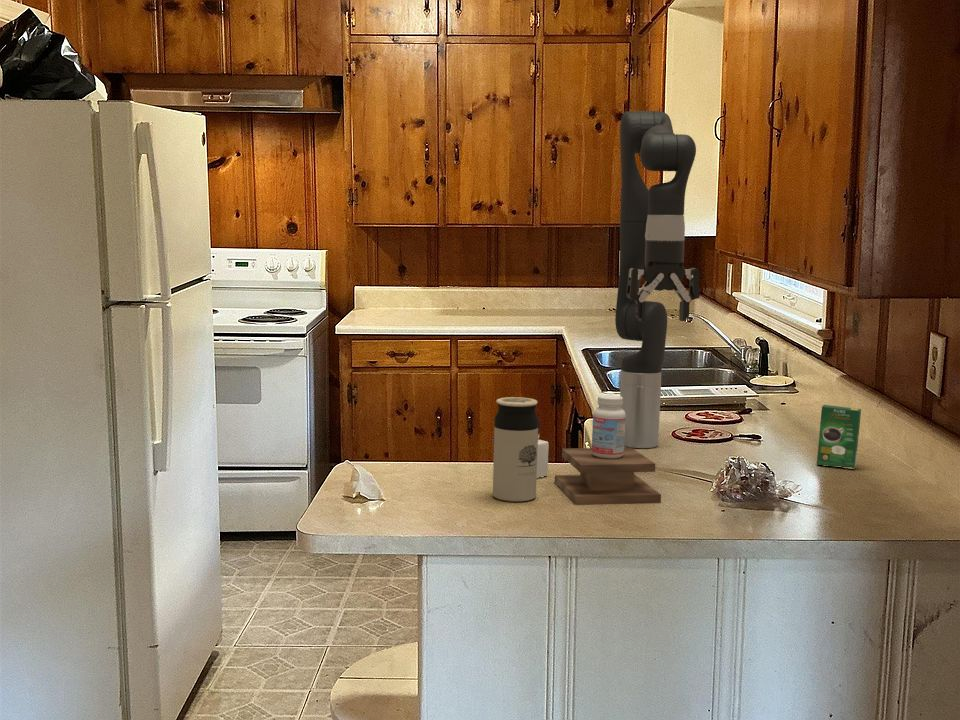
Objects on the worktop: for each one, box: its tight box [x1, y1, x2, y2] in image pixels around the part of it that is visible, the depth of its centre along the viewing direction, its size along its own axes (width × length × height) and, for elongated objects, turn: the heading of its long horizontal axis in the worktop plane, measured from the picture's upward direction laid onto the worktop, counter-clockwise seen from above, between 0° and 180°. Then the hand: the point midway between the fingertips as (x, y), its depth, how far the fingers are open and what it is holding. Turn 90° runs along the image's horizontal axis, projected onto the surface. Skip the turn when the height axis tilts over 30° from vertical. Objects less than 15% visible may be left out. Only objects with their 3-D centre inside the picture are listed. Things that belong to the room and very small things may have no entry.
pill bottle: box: [591, 394, 626, 459], centre depth 194 cm, size 6×6×11 cm
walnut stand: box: [554, 447, 662, 505], centre depth 195 cm, size 16×16×7 cm
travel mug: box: [492, 396, 539, 503], centre depth 189 cm, size 8×8×18 cm
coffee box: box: [816, 404, 862, 469], centre depth 221 cm, size 8×3×13 cm, turn 63°
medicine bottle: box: [537, 418, 549, 479], centre depth 206 cm, size 7×7×12 cm
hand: (662, 320), depth 205 cm, fingers open, 8 cm apart
